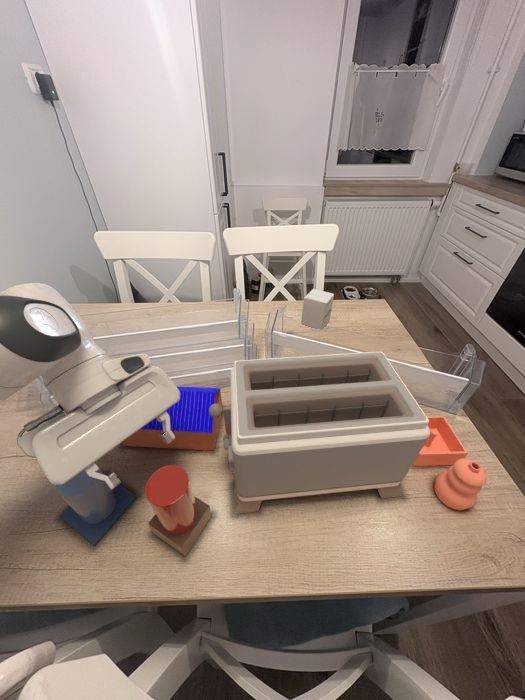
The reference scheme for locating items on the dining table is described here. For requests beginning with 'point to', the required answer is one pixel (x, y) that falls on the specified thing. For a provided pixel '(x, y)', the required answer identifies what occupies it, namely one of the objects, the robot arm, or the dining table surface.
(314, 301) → the white packaging box
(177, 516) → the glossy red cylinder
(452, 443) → the pottery
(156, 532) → the riser
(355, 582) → the dining table surface
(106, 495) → the blue canister
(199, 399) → the house
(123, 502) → the blue mat
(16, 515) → the dining table surface
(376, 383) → the toaster
